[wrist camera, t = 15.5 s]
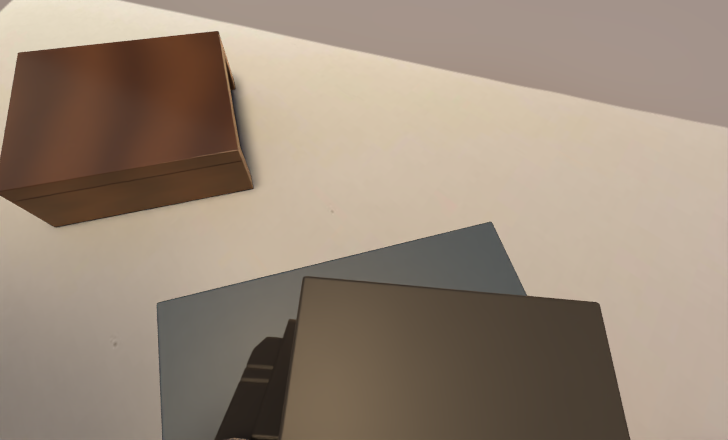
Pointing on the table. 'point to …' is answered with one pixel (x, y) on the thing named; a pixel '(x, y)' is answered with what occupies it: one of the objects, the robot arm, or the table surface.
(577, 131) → the table surface
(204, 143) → the brown wooden box
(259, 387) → the robot arm
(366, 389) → the black block
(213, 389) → the grey step stool
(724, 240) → the table surface
